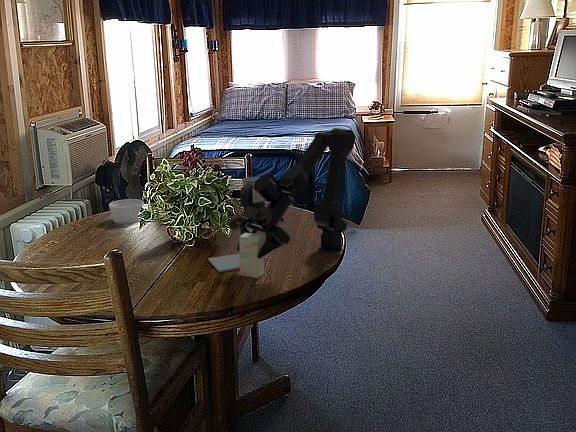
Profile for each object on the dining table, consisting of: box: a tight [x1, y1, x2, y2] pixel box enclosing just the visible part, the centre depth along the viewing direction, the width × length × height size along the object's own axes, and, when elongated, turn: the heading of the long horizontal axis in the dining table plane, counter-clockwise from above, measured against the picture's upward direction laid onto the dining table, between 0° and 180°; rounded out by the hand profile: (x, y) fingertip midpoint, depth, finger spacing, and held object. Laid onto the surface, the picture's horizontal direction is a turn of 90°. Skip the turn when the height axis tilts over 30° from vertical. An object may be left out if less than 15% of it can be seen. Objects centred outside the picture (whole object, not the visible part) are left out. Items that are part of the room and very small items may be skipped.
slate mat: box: [207, 253, 240, 273], centre depth 194 cm, size 14×12×1 cm
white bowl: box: [108, 198, 145, 225], centre depth 242 cm, size 13×13×7 cm
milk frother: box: [239, 176, 266, 219], centre depth 241 cm, size 14×16×15 cm
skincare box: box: [238, 233, 265, 279], centre depth 183 cm, size 6×4×12 cm
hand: (248, 254), depth 182 cm, fingers open, 9 cm apart
